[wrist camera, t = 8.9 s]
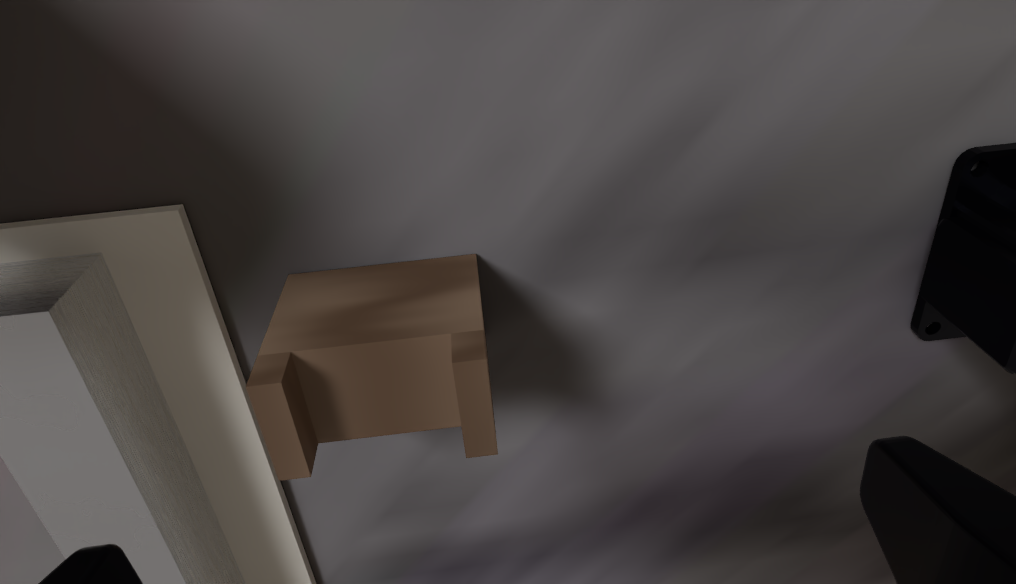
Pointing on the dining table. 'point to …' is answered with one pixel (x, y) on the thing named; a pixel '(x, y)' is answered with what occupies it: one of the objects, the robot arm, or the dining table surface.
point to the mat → (186, 370)
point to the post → (373, 359)
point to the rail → (98, 427)
